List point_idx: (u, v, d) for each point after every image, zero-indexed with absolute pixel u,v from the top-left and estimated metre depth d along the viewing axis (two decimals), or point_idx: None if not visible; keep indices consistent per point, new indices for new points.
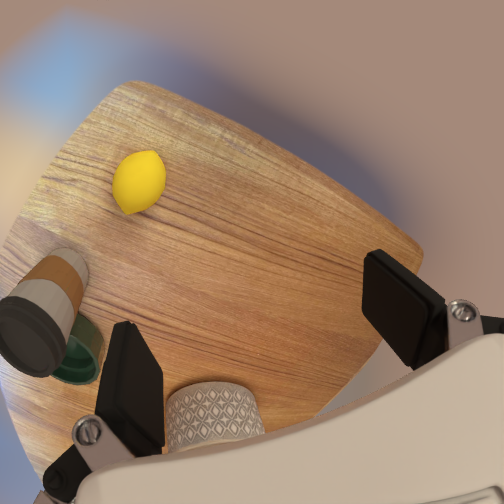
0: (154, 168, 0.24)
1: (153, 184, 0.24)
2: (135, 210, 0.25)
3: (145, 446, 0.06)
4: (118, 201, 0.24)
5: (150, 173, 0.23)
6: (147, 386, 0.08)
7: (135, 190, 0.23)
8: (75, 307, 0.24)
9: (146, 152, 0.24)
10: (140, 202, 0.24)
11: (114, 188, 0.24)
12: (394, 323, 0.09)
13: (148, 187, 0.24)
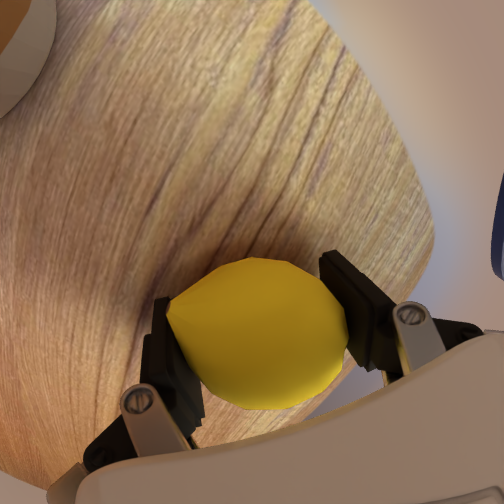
0: None
1: None
2: (195, 366, 0.08)
3: (190, 416, 0.07)
4: (232, 329, 0.07)
5: None
6: None
7: (278, 398, 0.07)
8: None
9: None
10: (230, 396, 0.08)
11: (282, 315, 0.07)
12: None
13: None
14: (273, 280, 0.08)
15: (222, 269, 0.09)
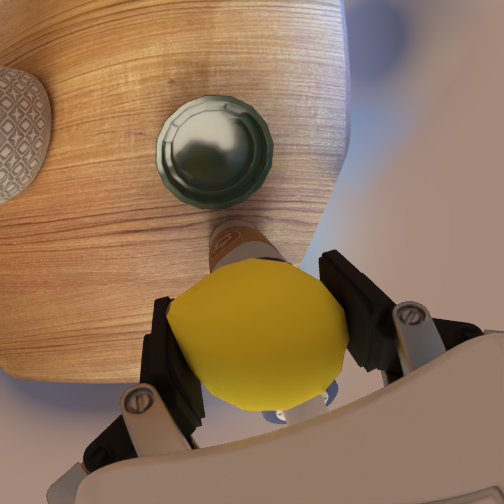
0: None
1: None
2: (195, 368, 0.08)
3: (190, 416, 0.07)
4: (232, 330, 0.07)
5: None
6: None
7: (279, 399, 0.07)
8: None
9: None
10: (230, 397, 0.08)
11: (282, 317, 0.07)
12: None
13: None
14: (273, 281, 0.08)
15: (222, 270, 0.09)
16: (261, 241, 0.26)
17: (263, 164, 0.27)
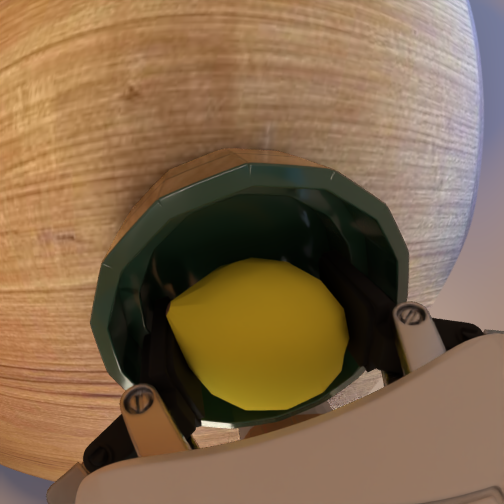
0: None
1: None
2: (195, 367, 0.08)
3: (190, 416, 0.07)
4: (232, 329, 0.07)
5: None
6: None
7: (279, 399, 0.07)
8: None
9: None
10: (230, 397, 0.08)
11: (282, 316, 0.07)
12: None
13: None
14: (273, 281, 0.08)
15: (222, 270, 0.09)
16: None
17: None
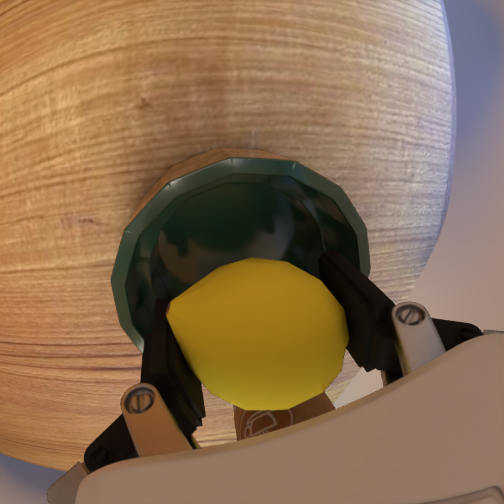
0: None
1: None
2: (195, 367, 0.08)
3: (190, 415, 0.07)
4: (232, 329, 0.07)
5: None
6: None
7: (279, 399, 0.07)
8: None
9: None
10: (230, 397, 0.08)
11: (282, 316, 0.07)
12: None
13: None
14: (273, 281, 0.08)
15: (222, 269, 0.09)
16: None
17: None
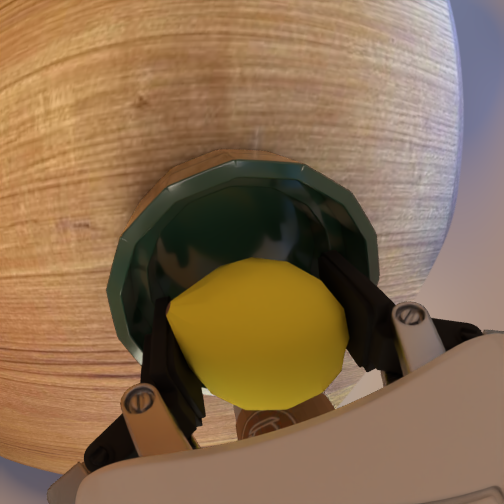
0: None
1: None
2: (195, 367, 0.08)
3: (190, 415, 0.07)
4: (232, 329, 0.07)
5: None
6: None
7: (279, 399, 0.07)
8: None
9: None
10: (230, 397, 0.08)
11: (282, 316, 0.07)
12: None
13: None
14: (273, 280, 0.08)
15: (222, 269, 0.09)
16: None
17: None
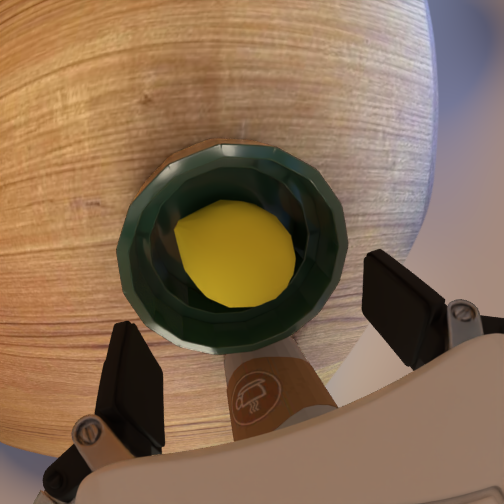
0: None
1: (243, 304, 0.14)
2: (189, 262, 0.13)
3: (145, 446, 0.06)
4: (215, 231, 0.12)
5: (265, 300, 0.14)
6: (147, 386, 0.08)
7: (242, 284, 0.12)
8: None
9: None
10: (210, 284, 0.13)
11: (246, 225, 0.12)
12: (394, 323, 0.09)
13: (241, 300, 0.13)
14: (243, 208, 0.13)
15: (212, 203, 0.14)
16: (315, 405, 0.14)
17: (325, 275, 0.15)
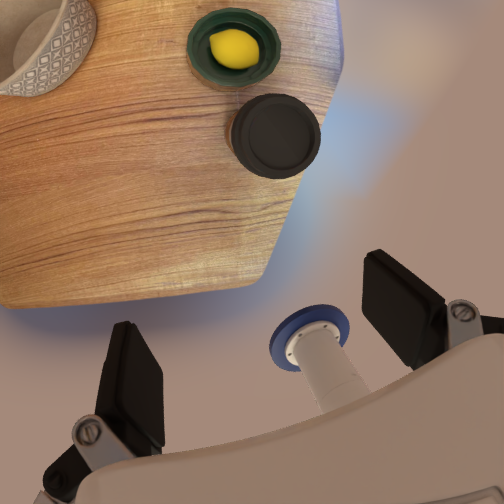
0: (247, 60, 0.27)
1: (236, 57, 0.26)
2: (215, 42, 0.26)
3: (145, 446, 0.06)
4: (226, 31, 0.25)
5: (245, 56, 0.27)
6: (147, 386, 0.08)
7: (235, 44, 0.25)
8: (230, 146, 0.29)
9: (258, 57, 0.28)
10: (223, 46, 0.25)
11: (237, 30, 0.25)
12: (394, 323, 0.09)
13: (235, 53, 0.26)
14: None
15: None
16: None
17: (273, 58, 0.28)
